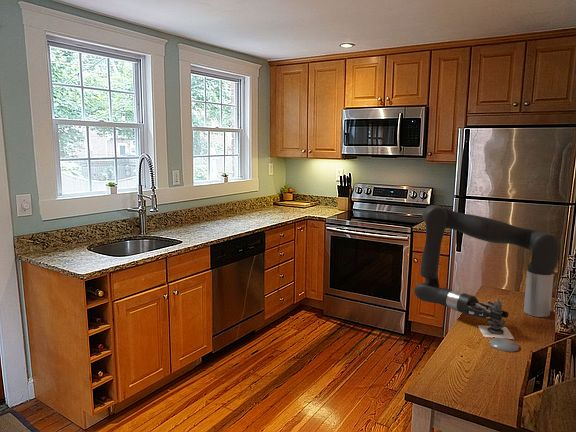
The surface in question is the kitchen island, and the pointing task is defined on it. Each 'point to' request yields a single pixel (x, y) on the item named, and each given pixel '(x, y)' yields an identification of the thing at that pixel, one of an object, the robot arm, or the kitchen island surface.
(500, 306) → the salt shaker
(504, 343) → the coaster
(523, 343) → the kitchen island surface
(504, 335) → the card
